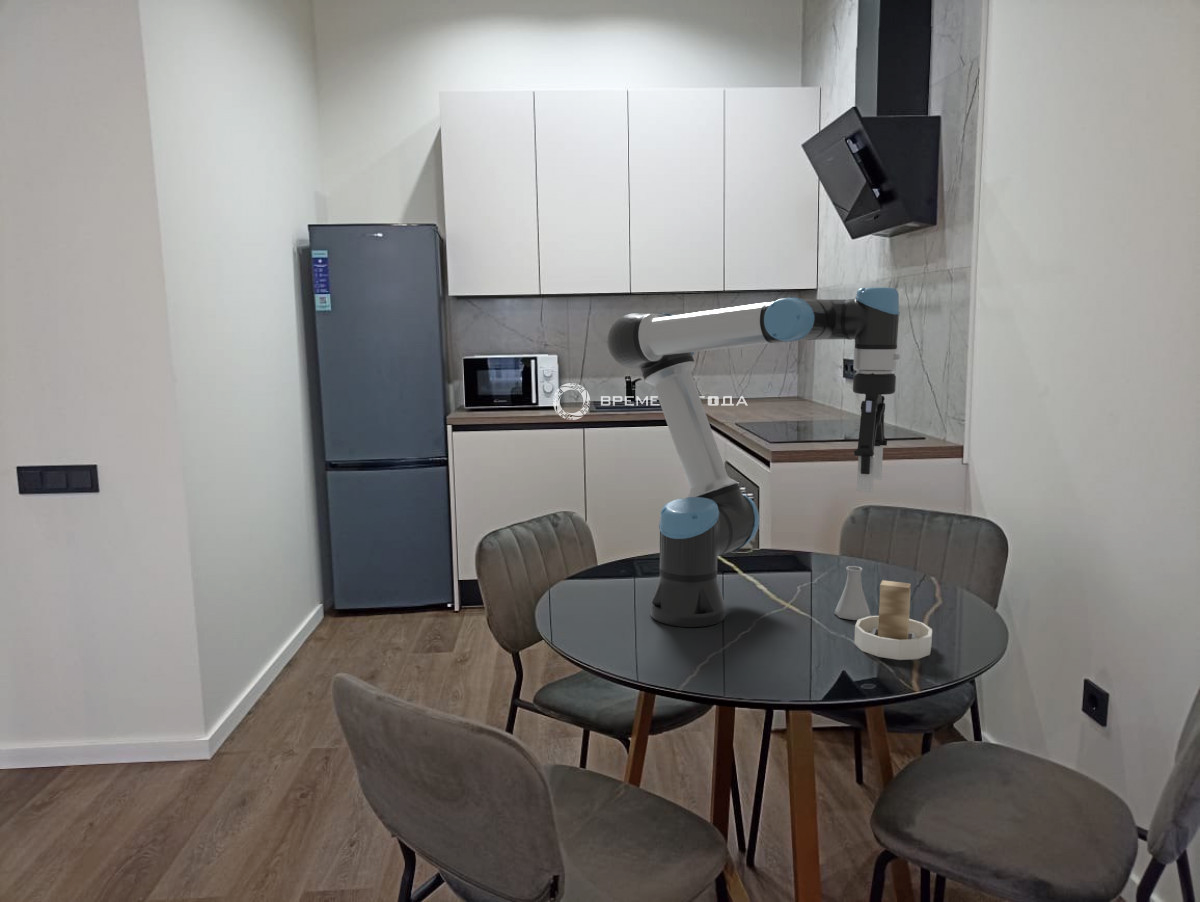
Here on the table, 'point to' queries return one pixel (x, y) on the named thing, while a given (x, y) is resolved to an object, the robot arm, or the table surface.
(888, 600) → the wooden block
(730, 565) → the table surface
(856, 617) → the flask
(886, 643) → the white round dish
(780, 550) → the table surface
